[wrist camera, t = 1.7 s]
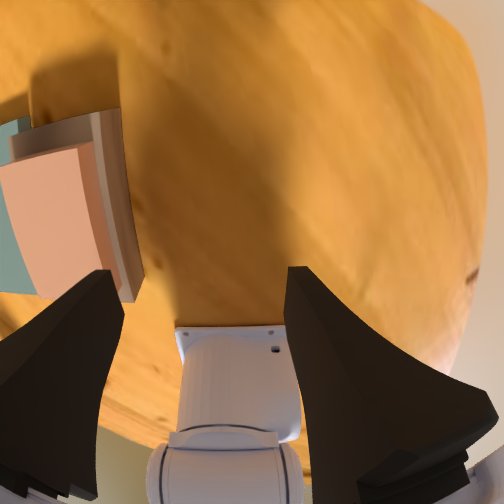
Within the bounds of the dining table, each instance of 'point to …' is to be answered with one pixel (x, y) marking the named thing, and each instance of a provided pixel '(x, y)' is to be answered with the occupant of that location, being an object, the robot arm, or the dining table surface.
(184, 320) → the dining table surface
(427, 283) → the dining table surface
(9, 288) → the teal rectangular slab
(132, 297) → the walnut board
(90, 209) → the terracotta tile
